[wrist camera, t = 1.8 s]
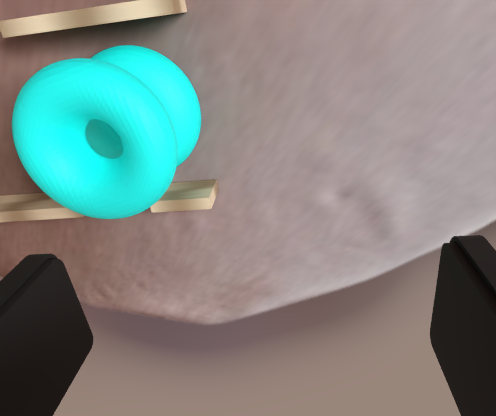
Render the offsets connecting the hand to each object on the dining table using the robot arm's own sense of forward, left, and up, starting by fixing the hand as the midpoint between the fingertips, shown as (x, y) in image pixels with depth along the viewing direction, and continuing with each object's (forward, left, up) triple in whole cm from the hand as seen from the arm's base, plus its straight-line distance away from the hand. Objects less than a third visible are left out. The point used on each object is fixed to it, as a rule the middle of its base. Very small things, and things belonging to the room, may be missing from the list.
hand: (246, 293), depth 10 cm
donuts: (+11, 0, -23) cm, 25 cm away
